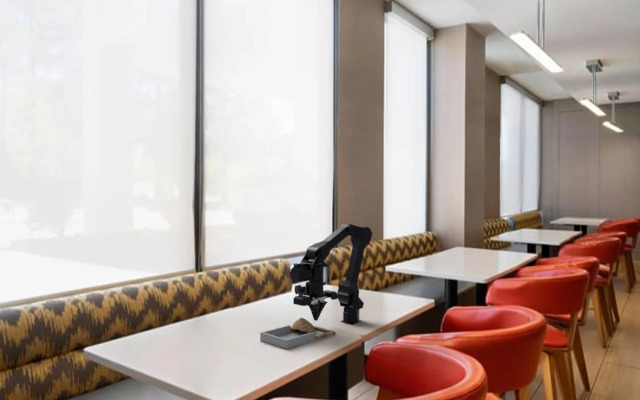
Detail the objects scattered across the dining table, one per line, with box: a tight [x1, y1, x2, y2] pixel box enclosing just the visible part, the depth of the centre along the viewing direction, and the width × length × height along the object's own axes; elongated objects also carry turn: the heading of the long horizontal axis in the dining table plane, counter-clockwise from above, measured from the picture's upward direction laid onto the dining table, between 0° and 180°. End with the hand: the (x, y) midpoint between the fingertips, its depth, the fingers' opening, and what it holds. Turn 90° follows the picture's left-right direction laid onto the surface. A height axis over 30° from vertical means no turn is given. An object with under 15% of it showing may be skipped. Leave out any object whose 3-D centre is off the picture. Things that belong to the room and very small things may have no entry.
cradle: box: [291, 325, 336, 341], centre depth 185 cm, size 9×16×2 cm, turn 46°
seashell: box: [291, 317, 315, 334], centre depth 186 cm, size 8×6×8 cm
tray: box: [259, 324, 317, 350], centre depth 176 cm, size 14×14×3 cm
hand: (315, 320), depth 187 cm, fingers closed
